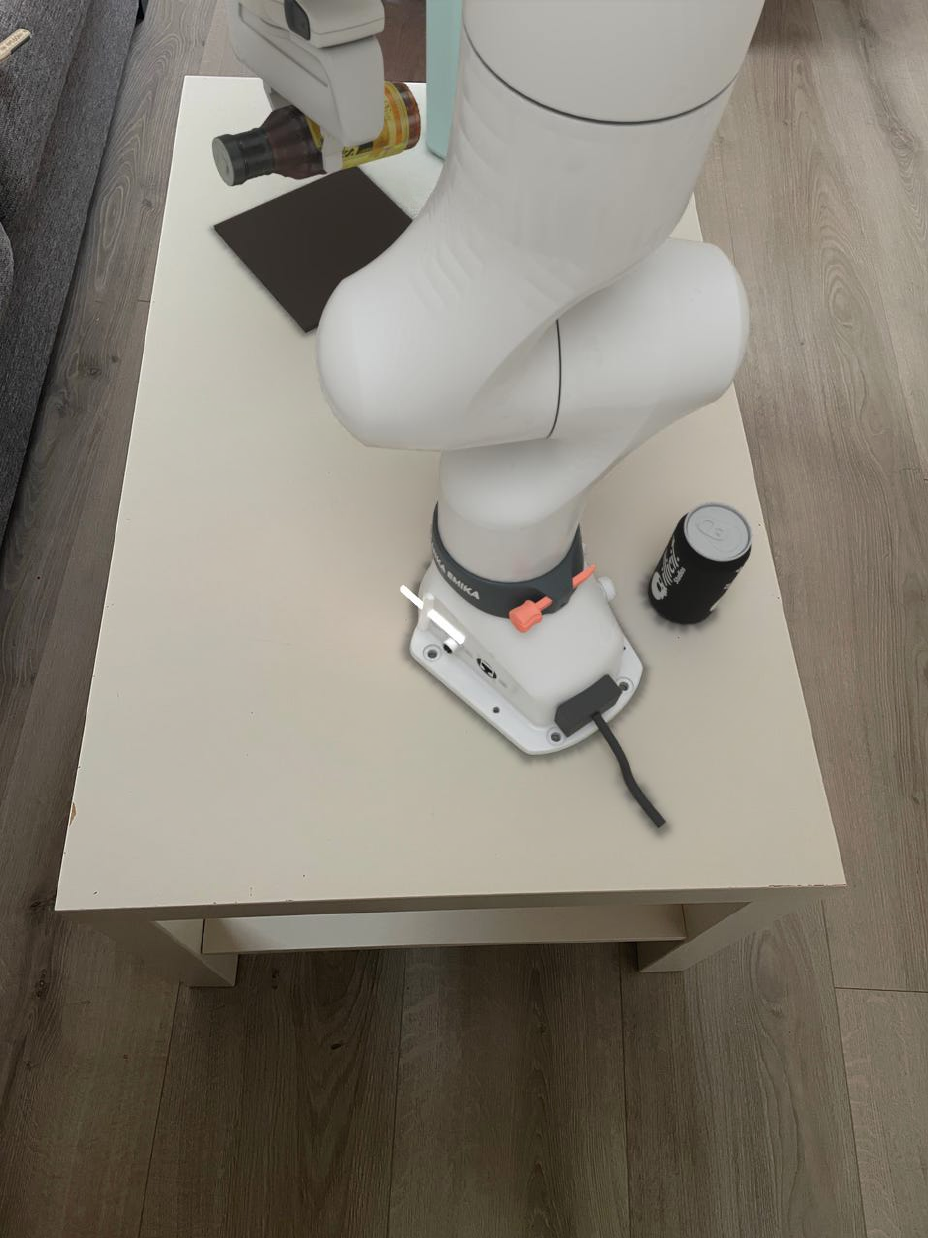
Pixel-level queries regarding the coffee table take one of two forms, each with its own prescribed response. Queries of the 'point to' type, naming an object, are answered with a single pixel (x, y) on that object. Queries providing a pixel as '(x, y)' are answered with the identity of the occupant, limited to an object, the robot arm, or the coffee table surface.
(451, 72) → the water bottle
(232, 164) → the sauce bottle
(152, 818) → the coffee table surface
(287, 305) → the mat
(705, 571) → the beverage can
